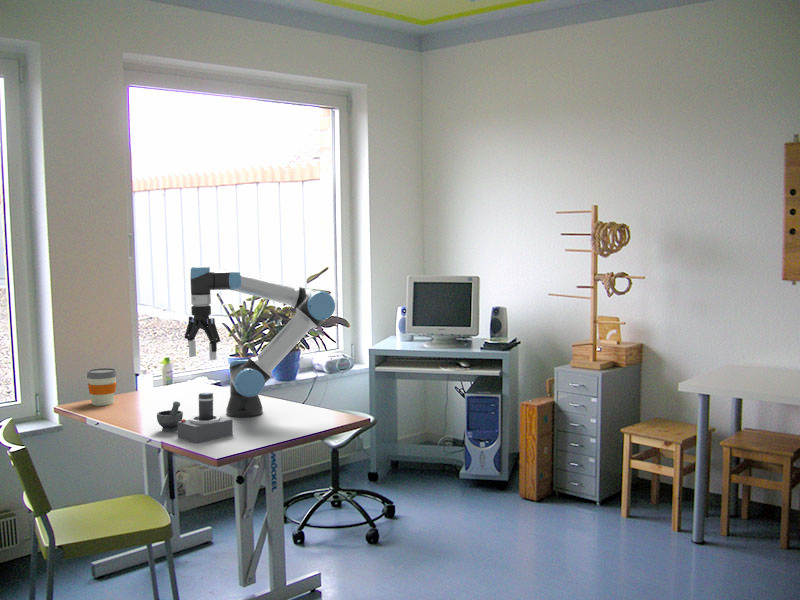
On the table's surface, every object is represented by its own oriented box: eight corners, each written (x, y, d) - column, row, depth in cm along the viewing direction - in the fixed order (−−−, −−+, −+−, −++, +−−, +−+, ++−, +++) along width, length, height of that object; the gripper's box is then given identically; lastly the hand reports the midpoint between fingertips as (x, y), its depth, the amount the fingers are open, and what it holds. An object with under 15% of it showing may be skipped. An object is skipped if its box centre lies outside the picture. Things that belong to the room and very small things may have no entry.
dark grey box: (214, 429, 298) (213, 411, 298) (232, 435, 290) (232, 416, 290) (177, 437, 286) (177, 419, 286) (196, 443, 278) (195, 424, 278)
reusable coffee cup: (122, 400, 351) (121, 368, 350) (111, 406, 339) (110, 373, 337) (94, 400, 351) (93, 368, 350) (82, 406, 339) (81, 372, 338)
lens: (198, 419, 290) (197, 392, 289) (212, 418, 291) (212, 392, 291) (199, 422, 284) (199, 395, 284) (214, 421, 286) (213, 394, 286)
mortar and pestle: (152, 430, 297) (152, 399, 296) (174, 426, 304) (173, 396, 303) (168, 435, 289) (167, 404, 288) (189, 431, 296) (189, 400, 295)
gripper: (174, 304, 309) (176, 356, 311) (212, 307, 293) (214, 362, 295) (190, 302, 315) (192, 354, 317) (228, 306, 299) (229, 360, 301)
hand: (202, 358), depth 306 cm, fingers open, 13 cm apart
